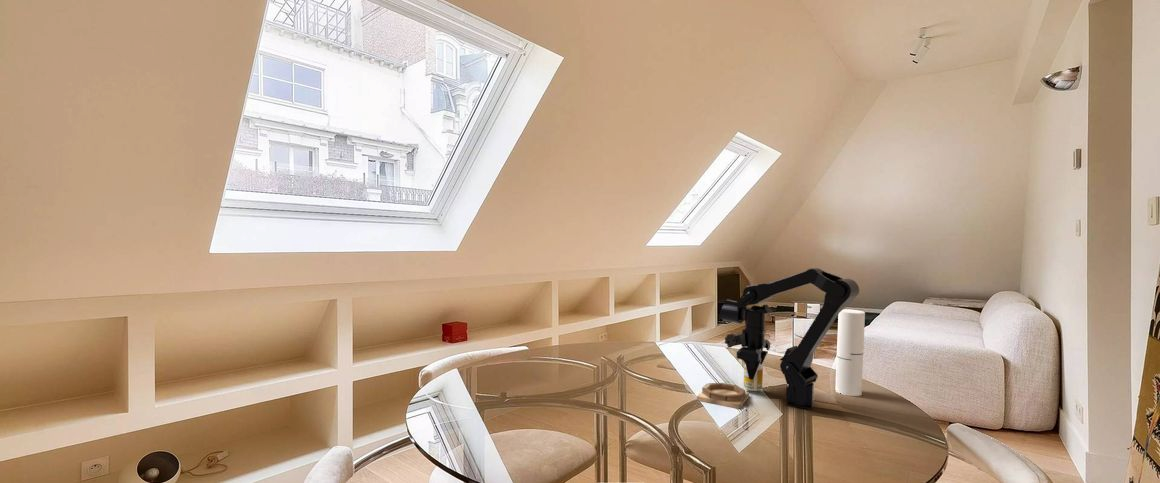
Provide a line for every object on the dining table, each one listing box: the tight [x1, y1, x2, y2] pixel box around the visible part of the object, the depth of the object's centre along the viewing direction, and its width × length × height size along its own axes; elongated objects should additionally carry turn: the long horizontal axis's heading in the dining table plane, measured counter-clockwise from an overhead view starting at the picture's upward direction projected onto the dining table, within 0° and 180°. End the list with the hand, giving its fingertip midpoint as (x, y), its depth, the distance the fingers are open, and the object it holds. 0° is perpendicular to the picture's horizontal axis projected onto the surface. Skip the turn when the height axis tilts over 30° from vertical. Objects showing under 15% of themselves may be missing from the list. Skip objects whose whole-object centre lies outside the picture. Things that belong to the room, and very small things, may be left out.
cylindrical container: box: [834, 308, 866, 397], centre depth 157 cm, size 7×7×25 cm
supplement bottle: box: [743, 363, 764, 392], centre depth 157 cm, size 5×5×10 cm
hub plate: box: [696, 382, 750, 410], centre depth 150 cm, size 12×12×3 cm
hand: (753, 376), depth 157 cm, fingers closed on supplement bottle, 5 cm apart
